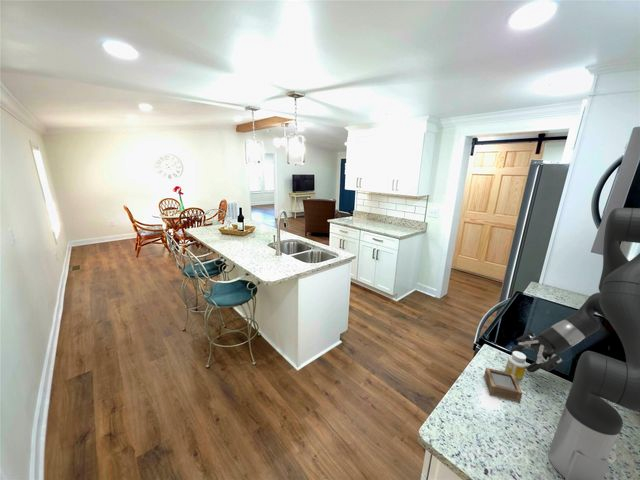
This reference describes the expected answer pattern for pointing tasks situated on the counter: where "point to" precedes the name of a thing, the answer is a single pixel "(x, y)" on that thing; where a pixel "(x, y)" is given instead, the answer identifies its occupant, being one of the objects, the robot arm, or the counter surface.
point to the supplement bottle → (516, 365)
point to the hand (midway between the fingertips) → (519, 361)
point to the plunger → (502, 380)
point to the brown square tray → (501, 390)
